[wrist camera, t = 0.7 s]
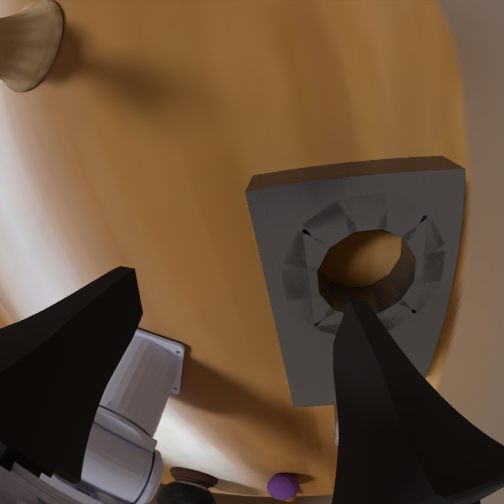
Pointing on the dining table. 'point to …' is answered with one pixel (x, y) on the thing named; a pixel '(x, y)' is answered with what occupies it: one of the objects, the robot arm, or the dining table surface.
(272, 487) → the kendama
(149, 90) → the dining table surface
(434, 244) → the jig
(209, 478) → the black ball on stand
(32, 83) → the hand bell
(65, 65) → the dining table surface
